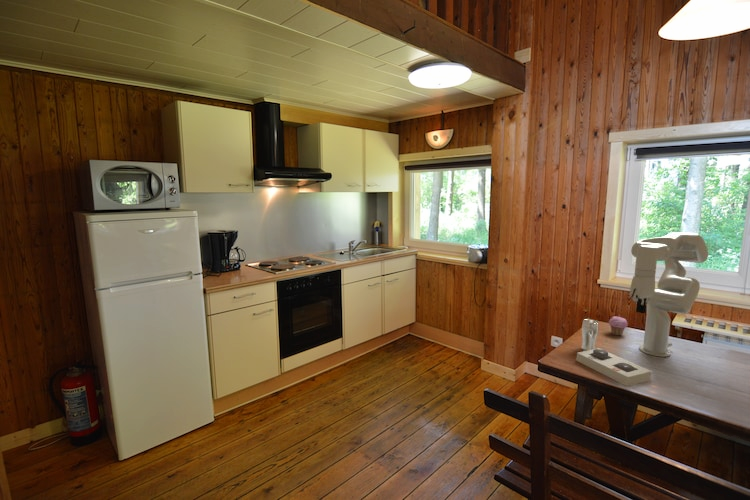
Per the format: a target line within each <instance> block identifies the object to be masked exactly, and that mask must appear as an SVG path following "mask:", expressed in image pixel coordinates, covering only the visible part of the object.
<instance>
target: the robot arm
mask: <svg viewBox="0 0 750 500" xmlns="http://www.w3.org/2000/svg"><path fill="white" fill-rule="evenodd" d="M630 249H631V252H630V253H631V255H632V256H633V257H634V258H635V265H634V275H633V277H632V279H631V284H630V287H629V297H630V298H631V297H632V301H633V302H635V304H636V309H635V312H636V313H638V314H639V313H640V314H646V317H645V318H646V320H645V325H644V326H645V327H644V335H643V336H644V337H643V343H642V344H640V345H639V346H638V348H639V350H640V351H641V352H642V353H644V354H647V355H650V356H654V357H662V358H665V357H670V356H671V354H672V353H671V350H670V349H669V348H670V347H672V346H673V343H672V342H669V337H670V330H671V329H670V328H671V317H670V315H669V313H668V312H670V313H675V314H680V315H686V314H688V313H690V311H691V309H692V308H693V305H694V304H695V301H696V299H697V297H698V295H699V292H700V288H701V287H700V286H701V285H700V282H699V280H698V279H696V278H694V277H689V276H686V275H687V271H686V268H685V267H684V266H683V265H682V264H681V263H680V262H686V263H687V262H688V263H695V264H702V263H705V262H706V261H707V259H708V257H709V250H708V247H707V244H706V242H705V240H704V238H703V236H702V235H701V234H699V233H694V232H692V233H691V232H681V231H680V232H677V231H674V232H670V233H668V234H666V235H664V236H659V237H651V238H643V239H640V240H638V241H635V242H634V244H633V245H632V246H631V248H630ZM663 261H664V266H665V269H664V270H663V272H662V274H661V276H660V278H659V280H658V282H657V289H656V273H657V263H658V262H663Z"/></svg>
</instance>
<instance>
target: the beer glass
mask: <svg viewBox="0 0 750 500" xmlns="http://www.w3.org/2000/svg"><path fill="white" fill-rule="evenodd" d="M598 331H599V321H597V320H595V319H592V318H584V319H583V321H582V325H581V334H582V335H581V337H582V343H581V346H580V347H581V348H580V349H581V350H583V351H588V350H593V349H596V346H595V343H596V340H597V335H598Z"/></svg>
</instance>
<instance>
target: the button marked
mask: <svg viewBox="0 0 750 500" xmlns="http://www.w3.org/2000/svg"><path fill="white" fill-rule="evenodd" d="M617 368H619V369H621V370H623V371H625V372H631V371H633V369H634V367H633V366H631V365H629V364H626V363H618V364H617Z"/></svg>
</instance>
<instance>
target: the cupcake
mask: <svg viewBox="0 0 750 500" xmlns="http://www.w3.org/2000/svg"><path fill="white" fill-rule="evenodd" d="M608 324H609V326H610V328H611V329H610V332H611V334H612V335H614V336H622V335H623V334H624V330H625V329H626V328H627V327H628V321H627V319H626V318H624V317H621V316H615V315H614V316H612V317H611V318H610V319H609V321H608Z"/></svg>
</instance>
